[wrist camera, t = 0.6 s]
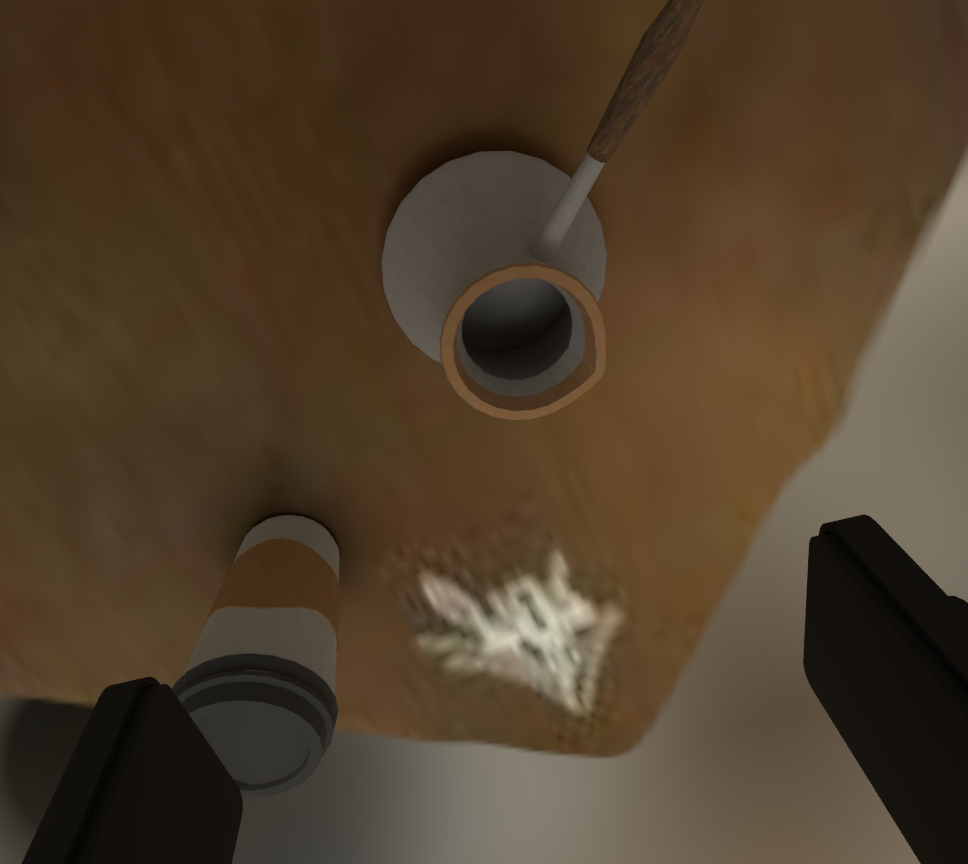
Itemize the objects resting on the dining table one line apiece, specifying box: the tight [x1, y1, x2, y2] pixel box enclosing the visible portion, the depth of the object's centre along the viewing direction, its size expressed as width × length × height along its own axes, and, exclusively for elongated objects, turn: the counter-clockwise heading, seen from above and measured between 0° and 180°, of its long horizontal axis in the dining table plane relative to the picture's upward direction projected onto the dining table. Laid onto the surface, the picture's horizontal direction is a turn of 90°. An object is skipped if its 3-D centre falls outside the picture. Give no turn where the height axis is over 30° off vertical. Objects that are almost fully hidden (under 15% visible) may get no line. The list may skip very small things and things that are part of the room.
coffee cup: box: [172, 515, 340, 798], centre depth 39 cm, size 8×8×15 cm
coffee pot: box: [381, 0, 703, 420], centre depth 28 cm, size 21×12×15 cm, turn 158°
